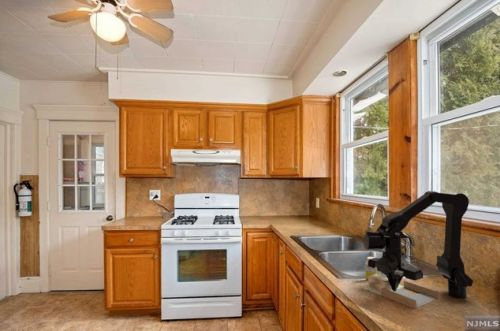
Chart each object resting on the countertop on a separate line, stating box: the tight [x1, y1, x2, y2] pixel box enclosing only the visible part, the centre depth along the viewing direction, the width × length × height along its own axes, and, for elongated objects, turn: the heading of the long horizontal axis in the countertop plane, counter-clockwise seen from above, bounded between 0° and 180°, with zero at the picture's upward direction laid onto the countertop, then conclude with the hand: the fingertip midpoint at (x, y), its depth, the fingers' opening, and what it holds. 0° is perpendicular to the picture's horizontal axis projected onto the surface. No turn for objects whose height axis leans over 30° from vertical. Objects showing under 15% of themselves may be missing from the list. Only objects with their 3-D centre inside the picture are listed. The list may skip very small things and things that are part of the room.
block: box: [367, 274, 392, 291], centre depth 107 cm, size 7×5×4 cm
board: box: [363, 279, 439, 310], centre depth 102 cm, size 20×16×4 cm
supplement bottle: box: [364, 256, 380, 282], centre depth 118 cm, size 6×6×10 cm
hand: (394, 291), depth 102 cm, fingers closed
